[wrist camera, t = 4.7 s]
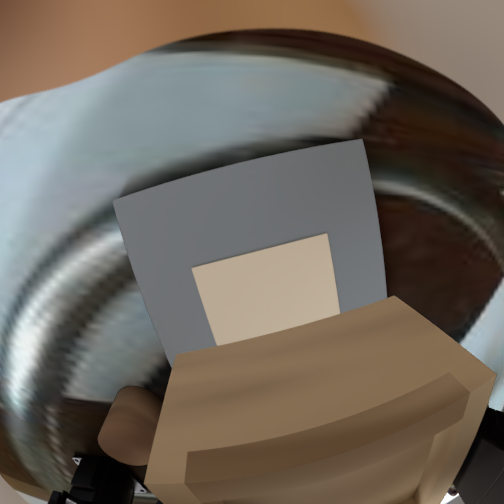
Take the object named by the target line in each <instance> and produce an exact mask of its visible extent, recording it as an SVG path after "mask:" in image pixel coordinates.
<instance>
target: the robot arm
mask: <svg viewBox="0 0 504 504" xmlns="http://www.w3.org/2000/svg"><path fill="white" fill-rule="evenodd" d="M73 460H74V461H75V463H76V464H77V465H78V467H77V469H76V472H75V474H74V477H73V479H72V481H71V485H72V488H71V490H70V493H69V494H68V492H66V491H64V490H63V491H62V493H61V492H57V491H53V492H52V495H51V497H50V499H49V502H48V504H132V502H133V498H134V494H135V493H146V492H147V488H146V487H145V486H144V485H143V484H142V483H141V482H140V481H139V479H138V478H137V477H136V476H135V475H134V474H133V473H132V472H131V471H130V469H129V468H128V467H127V466H126V465H125V464H124V463H122V462H120V461H117V460H115V459H114V458H108V457H90V456H78V455H74V456H73ZM452 484H453V485H454V487H455V489H456V490H457V492H458V493H459V495H460V497H461V498H462V500H463V502H464V503H465V504H504V412H501V411H498V410H496V411H495V409H492V408H489V407H486V410H485V413H484V415H483V418H482V421H481V423H480V426H479V428H478V431H477V433H476V436H475V438H474V440H473V442H472V445H471V447H470V449H469V451H468V453H467V456H466V458H465V460H464V462H463V464H462V466H461V468H460V470H459V471H458V473H457V475H456V477H455V479H454V481H453V483H452ZM156 504H163V503H162V502H161V501H160V500H158V502H157V503H156Z"/></svg>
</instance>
